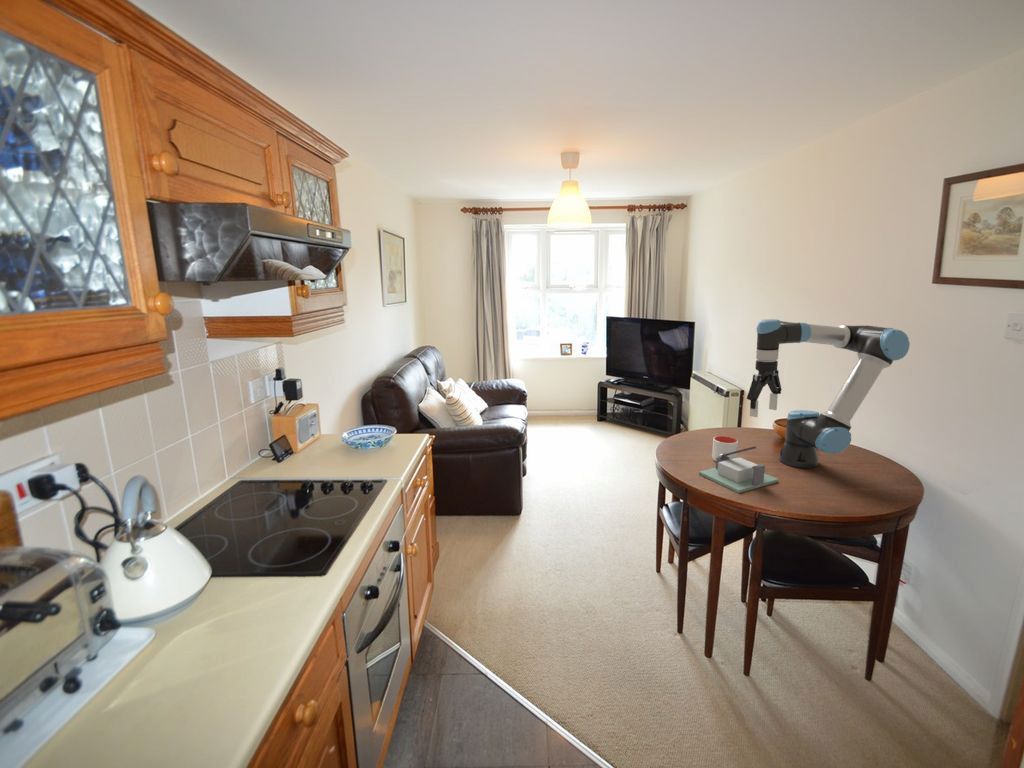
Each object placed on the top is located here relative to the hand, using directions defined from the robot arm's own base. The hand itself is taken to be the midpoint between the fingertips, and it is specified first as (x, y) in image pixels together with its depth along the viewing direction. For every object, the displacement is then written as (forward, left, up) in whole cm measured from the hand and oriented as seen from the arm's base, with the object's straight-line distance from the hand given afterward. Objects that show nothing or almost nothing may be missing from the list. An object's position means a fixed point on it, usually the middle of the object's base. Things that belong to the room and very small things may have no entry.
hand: (763, 412), depth 191 cm
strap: (+6, -5, -18) cm, 19 cm away
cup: (-4, -20, -28) cm, 35 cm away
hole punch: (+6, -4, -28) cm, 29 cm away
